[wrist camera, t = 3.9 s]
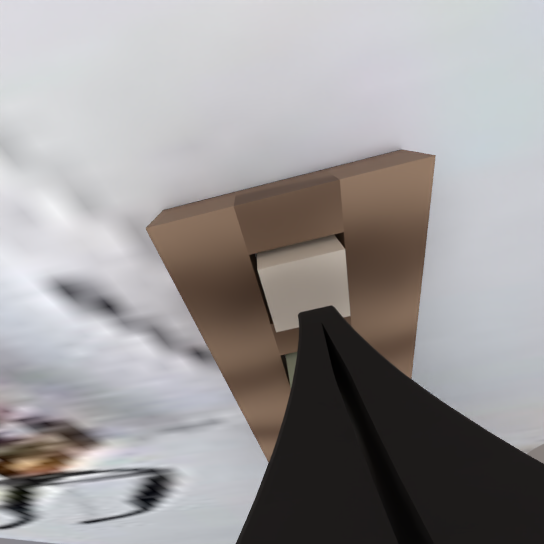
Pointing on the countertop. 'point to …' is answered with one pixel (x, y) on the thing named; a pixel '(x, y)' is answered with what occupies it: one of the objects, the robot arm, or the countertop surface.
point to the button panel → (290, 230)
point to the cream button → (304, 279)
